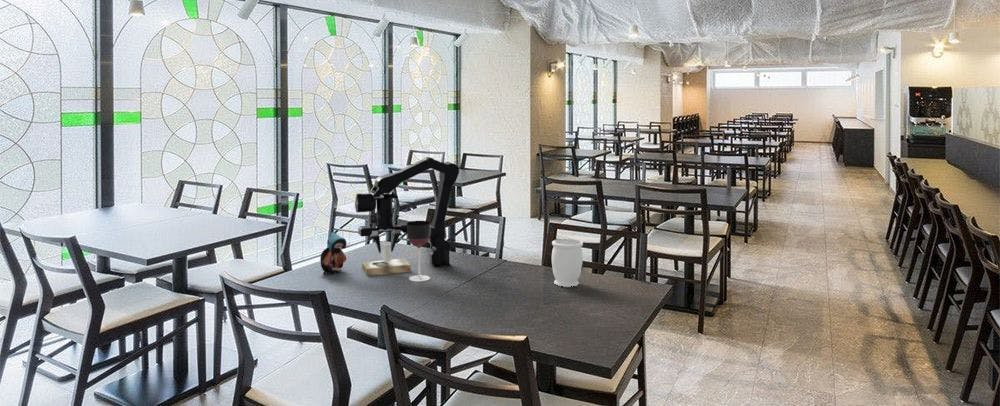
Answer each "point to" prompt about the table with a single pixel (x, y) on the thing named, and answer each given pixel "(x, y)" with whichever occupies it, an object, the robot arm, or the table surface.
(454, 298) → the table surface
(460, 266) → the table surface
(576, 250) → the jar
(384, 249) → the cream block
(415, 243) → the wineglass
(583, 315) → the table surface
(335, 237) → the figurine
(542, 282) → the table surface
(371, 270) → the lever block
